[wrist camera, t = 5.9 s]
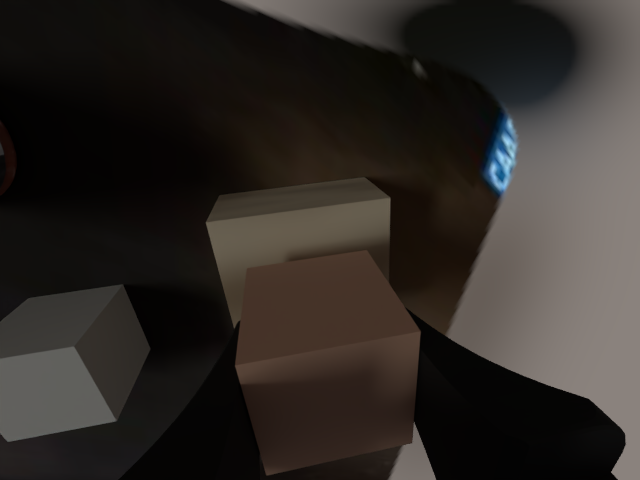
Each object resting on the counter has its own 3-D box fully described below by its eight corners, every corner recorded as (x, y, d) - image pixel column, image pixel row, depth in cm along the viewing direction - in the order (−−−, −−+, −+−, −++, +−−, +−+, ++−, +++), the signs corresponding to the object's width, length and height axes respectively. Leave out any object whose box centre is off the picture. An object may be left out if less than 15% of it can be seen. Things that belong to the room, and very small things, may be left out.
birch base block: (367, 293, 20) (388, 335, 17) (247, 314, 20) (243, 361, 16) (364, 177, 17) (390, 197, 13) (219, 195, 16) (205, 222, 13)
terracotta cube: (368, 339, 15) (412, 443, 10) (266, 358, 14) (266, 475, 10) (366, 249, 13) (420, 331, 8) (246, 268, 12) (235, 365, 8)
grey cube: (150, 348, 20) (116, 421, 15) (68, 362, 19) (7, 442, 15) (123, 283, 18) (74, 346, 13) (29, 297, 17) (-55, 367, 13)
